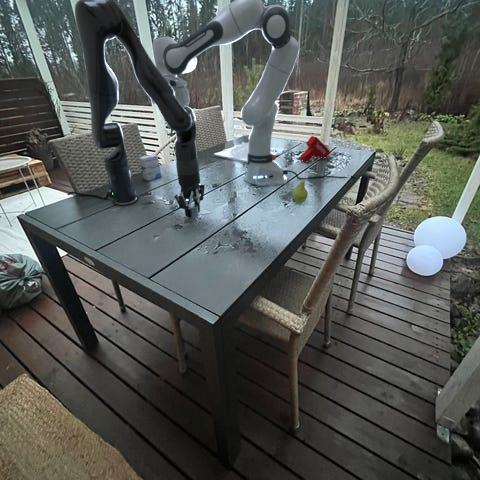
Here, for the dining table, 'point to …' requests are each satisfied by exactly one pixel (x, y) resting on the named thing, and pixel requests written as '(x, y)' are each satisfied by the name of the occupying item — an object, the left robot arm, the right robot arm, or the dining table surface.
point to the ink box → (150, 167)
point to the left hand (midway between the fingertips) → (193, 214)
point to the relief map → (237, 153)
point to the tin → (194, 210)
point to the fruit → (300, 192)
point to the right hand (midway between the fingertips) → (171, 115)
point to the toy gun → (315, 149)
